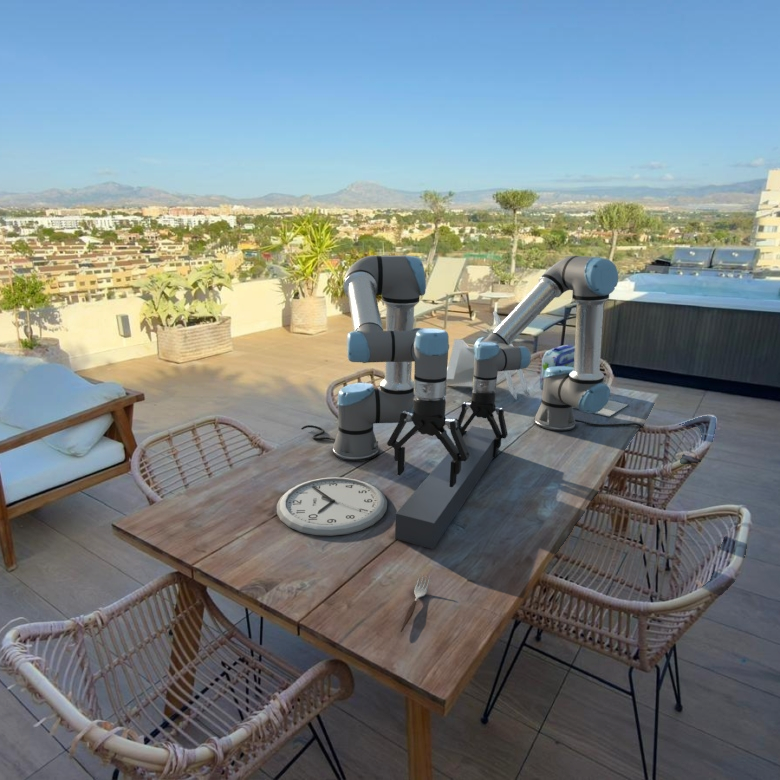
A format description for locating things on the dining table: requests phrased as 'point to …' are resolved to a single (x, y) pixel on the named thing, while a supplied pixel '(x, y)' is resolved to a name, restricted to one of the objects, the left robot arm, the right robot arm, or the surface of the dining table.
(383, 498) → the wall clock
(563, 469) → the dining table surface
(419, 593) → the fork
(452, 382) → the white plastic object
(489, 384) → the right robot arm
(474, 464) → the wide beam
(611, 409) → the invitation card
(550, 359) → the lunch box
